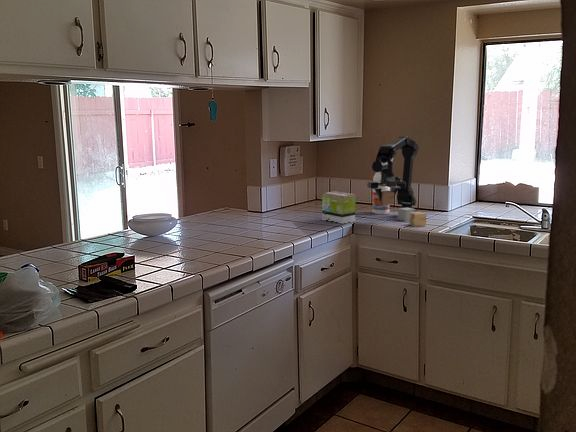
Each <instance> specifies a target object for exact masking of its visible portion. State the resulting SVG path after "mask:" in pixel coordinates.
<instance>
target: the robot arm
mask: <svg viewBox="0 0 576 432" xmlns="http://www.w3.org/2000/svg"><path fill="white" fill-rule="evenodd" d="M398 150H401V155H402V157H403V168H402V169H403V170H402V171H403V172H402V180H401V177H400V176H395V175H394V172H393V171H394V162H395V158H394V157H395V156H396V154H397V151H398ZM418 151H419V144H417V142H416V141H415V140H413V139H411V138H410V137H409V136H403V135H402V136H399V137H398V138H397V139H396V140H393V141H392V142H391V143H389V144H382V145H380V147H379V149H378V152H377V155H376V157H375V161H374V162H373V163H372V165H371V169H372V170H373V172H374V173H376V172H380V174H381V180H380V182H381V183H378V182H375V181H368V182H367V185H366V186H367V188H370V189H372V190H373V189H375V191H376V193H377V196H378V198H379V201H380V202H381V190H382V189H381V188H380V186H387V187H390V191H392V192H394V198H395V197H396V201H397V205H400V206H401V207H400V208H407V207H408V208H412V209H413V206H416V205H417V199H416V197H415V195H414V190H413V188H412V180H413V179H412V178H413V171H414V170H413V168H414V159H415V158H416V157H417V154H418ZM396 194H397V195H396Z"/></svg>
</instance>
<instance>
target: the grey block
mask: <svg viewBox="0 0 576 432" xmlns="http://www.w3.org/2000/svg"><path fill="white" fill-rule="evenodd" d="M397 210H398V211H397V219H399V220H398V221H402V220H403V222H410V212H416V209H415V208H413V207H412V208H408V207H407V208H401V207H399V208H398V209H397Z"/></svg>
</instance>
